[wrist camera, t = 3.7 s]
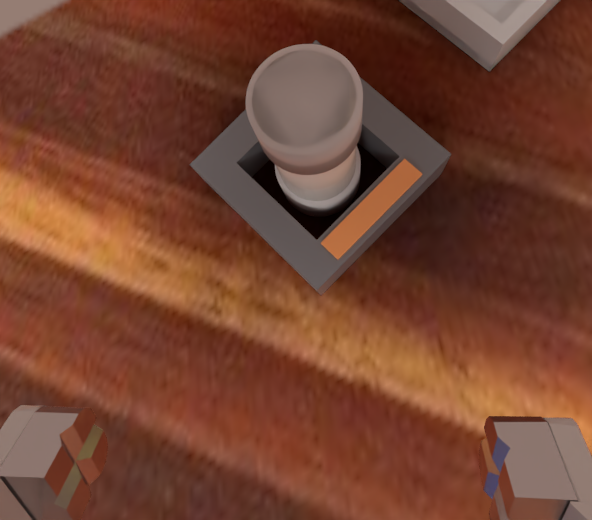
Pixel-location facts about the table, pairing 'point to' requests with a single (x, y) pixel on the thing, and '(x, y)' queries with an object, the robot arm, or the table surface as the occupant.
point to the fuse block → (357, 218)
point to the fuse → (309, 125)
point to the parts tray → (482, 23)
